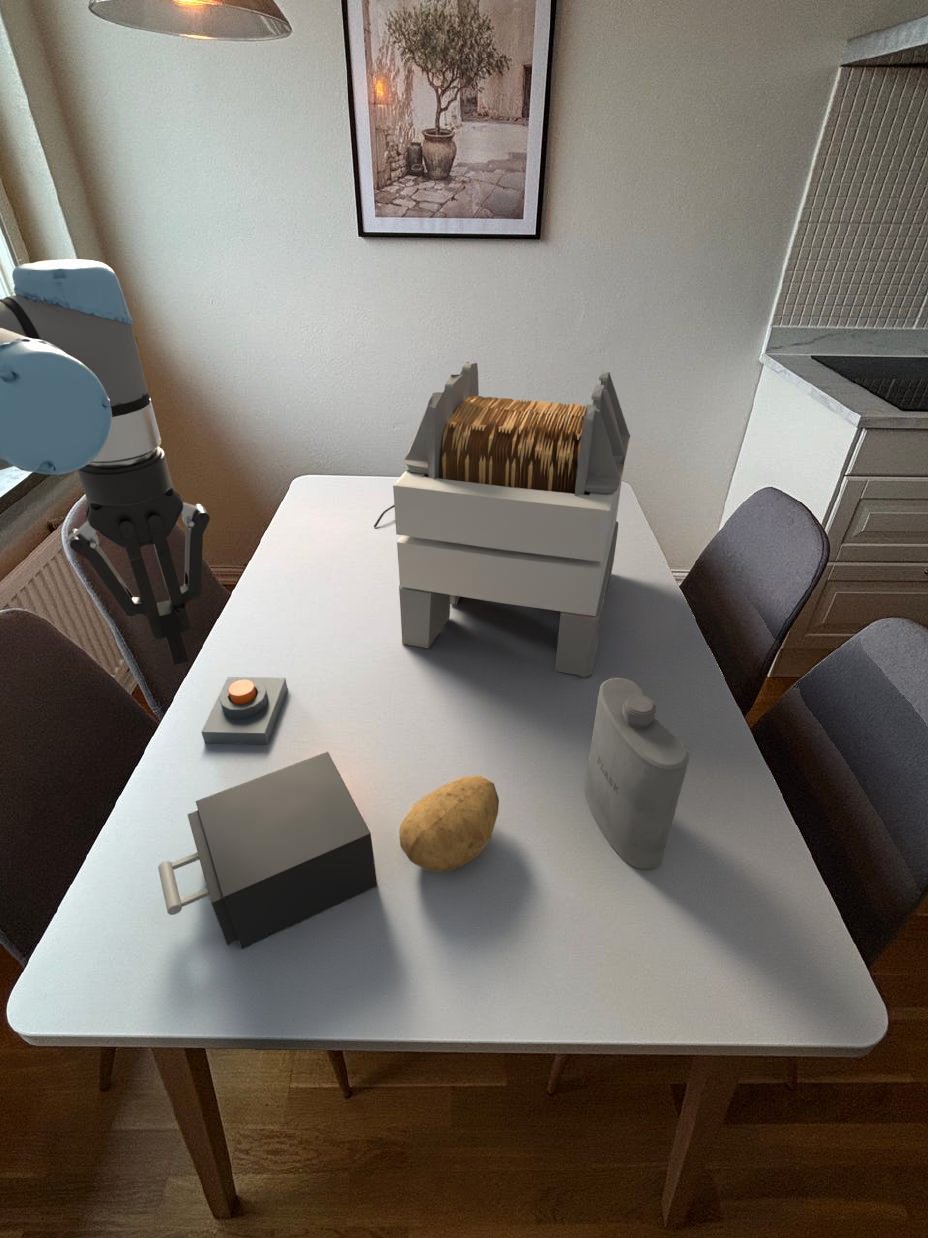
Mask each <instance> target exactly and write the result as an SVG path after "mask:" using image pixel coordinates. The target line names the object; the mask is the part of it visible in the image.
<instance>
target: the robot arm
mask: <svg viewBox="0 0 928 1238" xmlns="http://www.w3.org/2000/svg"><path fill="white" fill-rule="evenodd" d="M11 274H12V275H11V276H12V281H13V284H14V287H13V292H14V295H10V296H5V297H4V298H0V471H2V470H6V469H9V468H12V467H15V468H17V469H18V470H20V471H24V472H29V473H36V474H40V475H64V474H68V473H69V474H70V473H72V472H77V474H78V477H79V480H80V483H81V486H82V489H83V492H84V495H85V498H86V501H87V505H88V506H87V510H86V518H87V520H86V521H84V523H83V524H82V525H81V526H80V527H78V528H72V529H69V531H68V532H67V537H68V542H69V548H70V549H71V550H72V551H74V552H75V553H77V554H78V555H80V556H81V557H82V558H84V559H85V560H87V561H88V562H89V564H90V565H91V567H92V568H93V569H94V571H95V572H96V574H97V575H98V576H99V578H100V579H101V581H102V582H103V584H104V585H105V587H106V588H107V589H108V590H109V592H110V593H111V595H112V597H113V598H114V599H115V601H116V602H117V603H118V605H119V607H120V608H121V609H122V610H123V612H124V613H125V615H126V616H128V617H135V616H136V615H143V616H145V617H146V618H147V621H148V624H149V627H150V631H151V634H152V637H153V638H154V639H155V640H156V641H158V640H162V639H165V640H166V644H167V647H168V650H169V654H170V656H171V659H172V663H173V665H174V666H176V665H180V664H184V663H188V662H189V658H188V654H187V650H186V647H185V644H184V643H185V642H184V640H183V636H182V634H183V633H186V632H189V631H190V630H191V623H190V620H189V616H188V614H187V613H188V612H187V604H188V603H189V602H191V601H196V600H199V599H200V598H201V596H202V571H203V568H202V567H203V542H204V533H205V532H206V529H207V526H208V525H209V522H210V521H211V518H210V515H209V513H208V511H207V510H206V508H205V506H204V505H203V504H202V503H195V504H190V503H188V502H186V501H183V499H182V498H181V495H180V494H179V493H177V491H175V488H174V486H173V485H174V484H173V481H172V477H171V473H170V470H169V469H170V468H169V465H168V461H167V458H166V454H165V451H164V450H163V448H161V447H160V445H161V443H162V437H161V434H160V430H159V425H158V423H157V419H156V414H155V411H154V407H153V403H152V399H151V397H150V393H149V391H148V387H147V382H146V378H145V374H144V370H143V365H142V361H141V358H140V354H139V349H138V345H137V340H136V336H135V332H134V327H133V326H134V321H133V318H132V317H131V314H130V310H129V308H128V304H127V301H126V298H125V295H124V292H123V290H122V286H121V284H120V282H119V278H118V276H117V275H116V273H115V271H114V270H113V269H112V268H111V267H110V266H109V265H107V264H106V263H104V262H101V261H98V260H97V261H96V260H93V259H92V260H91V259H80V258H79V259H70V258H69V259H49V260H40V261H38V260H37V261H35V262H31V263H30V262H29V263H28V262H27V263H22V264H20V265H17V266H16V267H15V268H14V269H13V271H12V273H11ZM180 516H181V520H182V522H183V524H184V526H185V530H184V568H183V569H184V572H183V575H184V576H183V585H181V586H180V582H179V578H178V575H177V572H176V568H175V564H174V561H173V558H172V554H171V549H170V546H169V542H168V538H169V537H170V536H171V534H172V532H173V531H174V529H175V526H176V524H177V522H178V521H179V518H180ZM97 532H98V533H99V534H101V535H102V536H103V537H104V538H107V539H108V540H110V541H111V542H112V543H114V544H116V545H117V546H119V547H121V548H124V549H125V551H126V554H127V558H128V560H129V564H130V567H131V570H132V574H133V576H134V580H135V582H136V586H137V589H138V594H139V595H140V596H139V597H138V596H134V595H133V593H132V592H131V590H130V589H129V587H128V586H127V584H126V583H125V581H124V580H123V578H122V577H121V576H120V574H119V573H118V571H117V569H115V567H114V566H113V564H112V562H111V560H110V559H109V558H108V556H107V555H106V553H105V552H104V550H103V549H102V547H101V546H100V538H99V536H98V535H97ZM150 545H152V546H153V548H154V552H155V556H156V559H157V562H158V565H159V568H160V573H161V576H162V578H163V583H164V586H165V589H166V591H167V592H166V593H167V596H168V599H169V600H164V601H160V602H157V601H156V598H155V594H154V590H153V587H152V584H151V581H150V577H149V575H148V571H147V567H146V564H145V560H144V556H143V553H142V549H141V548H142V547H145V546H150Z"/></svg>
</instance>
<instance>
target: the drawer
mask: <svg viewBox="0 0 928 1238" xmlns="http://www.w3.org/2000/svg"><path fill="white" fill-rule="evenodd" d="M187 819H188V822H189V827H190V829H191V834H192V837H193V840H194V844H195V848H196V852H194V853H192V854H190V855H187V856H184V857H182V858H180V859H177V860H175V861H170V860H165V861H162V862H160V863H159V865H158V866H157V868H158V869H157V870H158V873H159V879H160V884H161V888H162V893H163V898H164V902H165V903H164V904H165V907H166V913H167V914H168V915H170V916H173V915H177V914H180V912H181V911H182V909H183V907H186V906H188V905H191V904H193V903H195V902H197V901H199V900H203V899H204V898H207V897H209V900H210V903H211V907H212V909H213V912H214V914H215V917H216V919H217V922H218V925H219V928H220V930H221V933H222V936H223V938H224V941H225V944H226V946H229V945H232V944H234V943H236V942H239V941H238V938H237V935H236V932H235V929H234V927H233V924H232V921H231V918H230V915H229V913H228V910H227V907H226V904H225V901H224V899H223V895H222V892H221V888H220V885H219V881H218V878H217V875H216V871H215V868H214V864H213V861H212V857H211V854H210V850H209V847H208V843H207V840H206V836H205V833H204V829H203V826H202V822H201V819H200V815H199V812H198V809H197V810H195V811H192V812H190V813H187ZM197 861H199V863H200V867H201V870H202V875H203V878H204V883H205V887H206V888H204V889H202V890H199V891H197V892H195V893H192V894H190V895H187V896H185V897H182V898H181V897H180V893H179V888H178V884H177V880H176V875H175V870H178V869H179V868H182V867H185V866H187V865H189V864H192V863H194V862H197Z"/></svg>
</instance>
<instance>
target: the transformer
mask: <svg viewBox="0 0 928 1238" xmlns="http://www.w3.org/2000/svg"><path fill="white" fill-rule="evenodd" d="M598 380H599V384H595V386H594V388H593V391H592V393H591V396H590V398H591V401H592V403H591V404H585V405H581V404H580V403H579V404H578V403H564V404H563V403H561V402H553V401H544V400H543V401H542V400H527V401H526V400H523V399H522V400H520V399H517V398H513V399H512V398H506V397H496V396H494V397H492V396H485V397H483V396H481V395H479V393H480V392H479V368H478V362H474V363H470V361H466V362H465V363H464V364H463V365H462V368H461V371H460V373H459V374H458V373H453V374H450V376H449V378H448V379H447V381H446V382H445V384H444V389H443V392H440V391H439V392H438V391H435V392H433V393H432V394H431V396H430V399H429V400H428V402H427V406H426V408H425V411H424V413H423V415H422V418H421V420H420V423H419V425H418V428H417V430H416V432H415V433H414V434H415V435H414V437H413V440H412V441H411V444H410V447H409V449H408V451H407V454H406V456H405V457H404V465H403V468H404V470H405V471H404V472H403V473H402V474H401V476H400V477H398V479H397V480H396V481H395V482H394V484H393V485H392V488H393V505H394V507H393V508H394V521H395V534H396V535H398V536H400V538H399V539H398V540H397V541H396V548H397V564H398V577H399V579H398V580H399V585H398V592H399V594H398V595H399V607H400V627H401V645H405V646H407V647H410V646H414V647H420V648H424V649H429V648H430V647H431V646H432V644H433V643H434V641H436V638H437V637H438V635H439V634H440V633H441V631H442V629H443V628H444V627H445V625H446V624H447V622H448V621H449V619H450V617H451V605H457V603H458V602H459V600H460V598H461V597H463V598H467V599H475V600H479V601H487V602H495V603H499V604H505V605H513V606H519V607H521V606H522V607H527V608H535V609H541V610H547V611H548V610H549V611H555V612H560V615H559V616H560V617H559V627H558V637H557V648H556V659H555V666H554V667H555V668H554V670H555V671H554V672H559V673H564V674H571V675H574V676H579V677H582V678H587V677H589V676H591V675H593V670H594V666H595V661H596V656H597V648H598V641H599V634H600V627H601V622H602V621H601V620H602V614H603V608H604V601H605V598H606V597H605V595H606V590H607V589H609V587H610V581H611V577H612V571H613V566H614V562H615V554H616V549H617V548H616V546H617V540H618V533H619V522H618V521H617V517H618V510H619V505H620V498H621V497H620V496H621V489H622V483H623V480H622V479H623V475H624V468H625V462H626V457H627V453H628V448H629V444H630V439H631V434H630V431H629V430H630V428H628V425H627V423H626V418H625V416H624V412H623V410H622V407H621V404H620V401H619V397H618V395H617V392H616V388H615V386H614V382H613V380H612V376H611V372H609V371H605V370H601V371H600V373H599V377H598Z"/></svg>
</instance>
